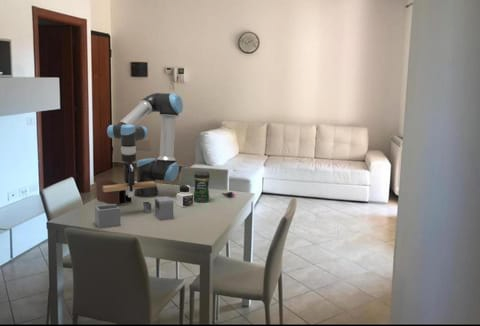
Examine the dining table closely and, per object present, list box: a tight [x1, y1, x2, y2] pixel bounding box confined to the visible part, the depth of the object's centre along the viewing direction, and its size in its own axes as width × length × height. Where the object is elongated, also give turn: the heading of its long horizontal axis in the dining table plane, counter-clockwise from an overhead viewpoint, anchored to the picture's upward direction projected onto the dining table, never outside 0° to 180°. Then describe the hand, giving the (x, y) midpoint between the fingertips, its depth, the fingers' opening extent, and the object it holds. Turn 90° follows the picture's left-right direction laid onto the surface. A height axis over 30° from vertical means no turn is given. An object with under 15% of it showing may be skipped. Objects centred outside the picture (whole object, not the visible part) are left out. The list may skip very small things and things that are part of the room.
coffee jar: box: [193, 170, 211, 203], centre depth 281 cm, size 10×8×19 cm
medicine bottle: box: [176, 184, 194, 209], centre depth 271 cm, size 7×7×12 cm
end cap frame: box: [94, 196, 174, 229], centre depth 240 cm, size 9×39×10 cm, turn 119°
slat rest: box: [142, 201, 152, 214], centre depth 252 cm, size 5×23×5 cm, turn 119°
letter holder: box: [96, 178, 133, 207], centre depth 275 cm, size 10×20×14 cm, turn 55°
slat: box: [102, 181, 157, 192], centre depth 250 cm, size 4×28×2 cm, turn 119°
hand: (129, 195), depth 251 cm, fingers closed on slat, 4 cm apart
